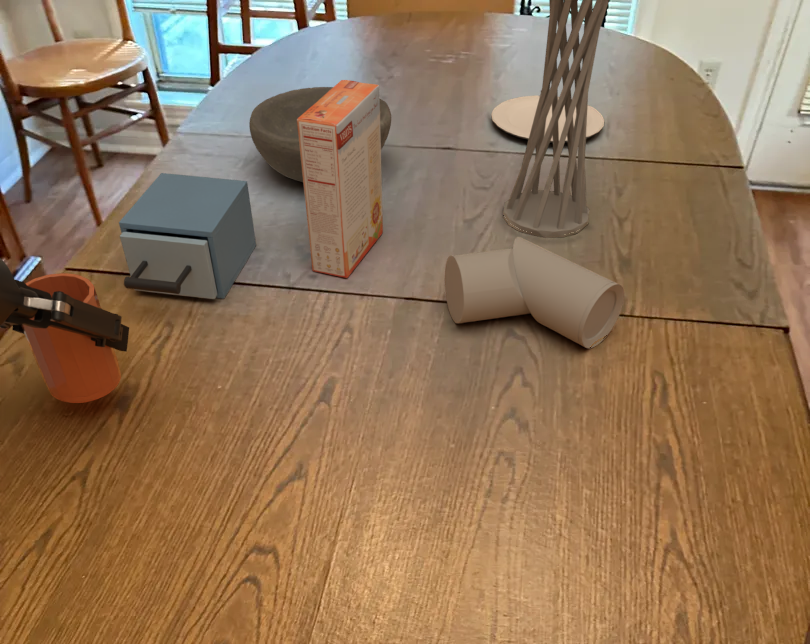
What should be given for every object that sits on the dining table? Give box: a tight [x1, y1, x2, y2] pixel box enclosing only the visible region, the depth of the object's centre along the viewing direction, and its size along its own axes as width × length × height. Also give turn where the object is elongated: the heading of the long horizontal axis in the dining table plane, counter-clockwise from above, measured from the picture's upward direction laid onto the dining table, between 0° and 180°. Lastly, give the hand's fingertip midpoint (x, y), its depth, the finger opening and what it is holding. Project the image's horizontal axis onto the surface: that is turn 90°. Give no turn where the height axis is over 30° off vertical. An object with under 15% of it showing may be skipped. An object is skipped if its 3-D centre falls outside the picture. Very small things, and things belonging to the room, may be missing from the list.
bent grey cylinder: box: [444, 236, 625, 349], centre depth 101 cm, size 18×10×20 cm
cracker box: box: [297, 79, 384, 279], centre depth 107 cm, size 14×6×21 cm, turn 159°
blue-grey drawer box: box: [118, 172, 257, 300], centre depth 109 cm, size 15×13×10 cm
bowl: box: [248, 86, 392, 183], centre depth 129 cm, size 23×22×10 cm
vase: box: [502, 0, 610, 239], centre depth 110 cm, size 14×13×35 cm
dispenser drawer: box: [119, 229, 217, 300], centre depth 105 cm, size 19×11×8 cm, turn 170°
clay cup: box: [21, 272, 122, 404], centre depth 85 cm, size 8×8×11 cm
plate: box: [490, 95, 605, 144], centre depth 145 cm, size 21×21×2 cm
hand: (87, 334), depth 88 cm, fingers closed on clay cup, 8 cm apart
